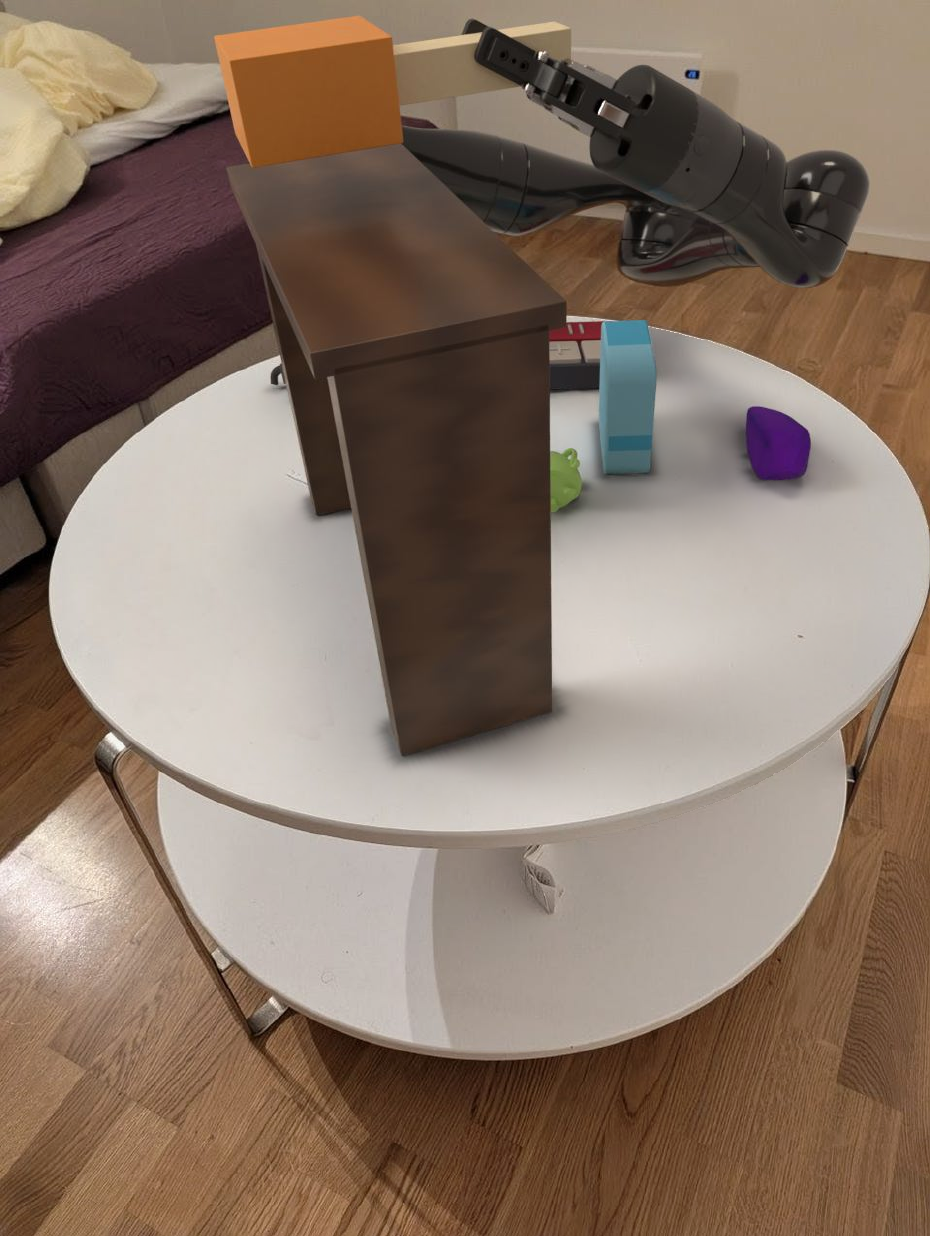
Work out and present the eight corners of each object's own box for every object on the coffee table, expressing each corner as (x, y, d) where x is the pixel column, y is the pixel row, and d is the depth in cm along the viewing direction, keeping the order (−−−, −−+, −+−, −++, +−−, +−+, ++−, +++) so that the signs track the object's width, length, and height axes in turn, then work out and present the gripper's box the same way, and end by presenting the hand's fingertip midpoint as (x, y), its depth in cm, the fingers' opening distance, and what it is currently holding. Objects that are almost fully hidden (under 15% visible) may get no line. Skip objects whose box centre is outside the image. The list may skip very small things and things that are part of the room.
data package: (649, 479, 93) (657, 369, 85) (604, 480, 93) (608, 370, 85) (639, 419, 101) (646, 314, 94) (598, 420, 102) (601, 316, 94)
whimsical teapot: (581, 486, 92) (582, 436, 89) (585, 517, 88) (586, 466, 85) (519, 489, 93) (517, 439, 89) (520, 520, 89) (519, 470, 85)
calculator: (632, 357, 105) (500, 361, 104) (628, 392, 107) (500, 395, 107) (617, 317, 113) (495, 320, 113) (614, 350, 116) (495, 353, 115)
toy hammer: (540, 85, 69) (539, -10, 65) (588, 112, 62) (589, 7, 58) (235, 134, 65) (213, 35, 61) (252, 168, 58) (228, 60, 54)
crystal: (776, 385, 97) (825, 446, 85) (770, 428, 100) (817, 493, 88) (730, 389, 97) (773, 450, 85) (726, 432, 100) (767, 497, 88)
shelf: (432, 472, 96) (396, 139, 75) (564, 708, 70) (567, 301, 49) (301, 502, 94) (226, 166, 72) (388, 760, 68) (309, 353, 46)
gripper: (683, 219, 67) (480, 120, 58) (604, 168, 77) (421, 77, 68) (741, 111, 63) (533, -11, 55) (650, 72, 73) (463, -36, 65)
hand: (472, 39), depth 62 cm, fingers closed on toy hammer, 3 cm apart
